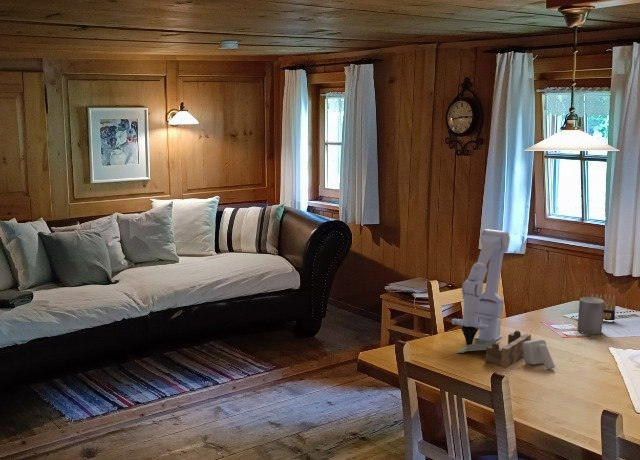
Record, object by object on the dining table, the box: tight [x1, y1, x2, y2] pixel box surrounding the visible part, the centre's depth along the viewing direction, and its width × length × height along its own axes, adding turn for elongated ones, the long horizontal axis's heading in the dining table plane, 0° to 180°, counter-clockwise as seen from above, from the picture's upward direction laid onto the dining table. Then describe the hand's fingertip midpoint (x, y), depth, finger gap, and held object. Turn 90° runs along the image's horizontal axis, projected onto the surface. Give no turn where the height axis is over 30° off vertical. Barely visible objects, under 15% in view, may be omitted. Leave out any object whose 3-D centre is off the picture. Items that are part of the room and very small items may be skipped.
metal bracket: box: [456, 339, 501, 354], centre depth 287 cm, size 14×6×15 cm
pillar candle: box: [577, 296, 604, 335], centre depth 315 cm, size 10×10×15 cm
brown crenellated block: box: [484, 329, 532, 369], centre depth 281 cm, size 23×8×8 cm, turn 143°
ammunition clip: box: [590, 293, 616, 320], centre depth 332 cm, size 11×2×12 cm, turn 72°
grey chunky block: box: [523, 339, 556, 370], centre depth 272 cm, size 8×10×10 cm
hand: (469, 345), depth 290 cm, fingers closed
